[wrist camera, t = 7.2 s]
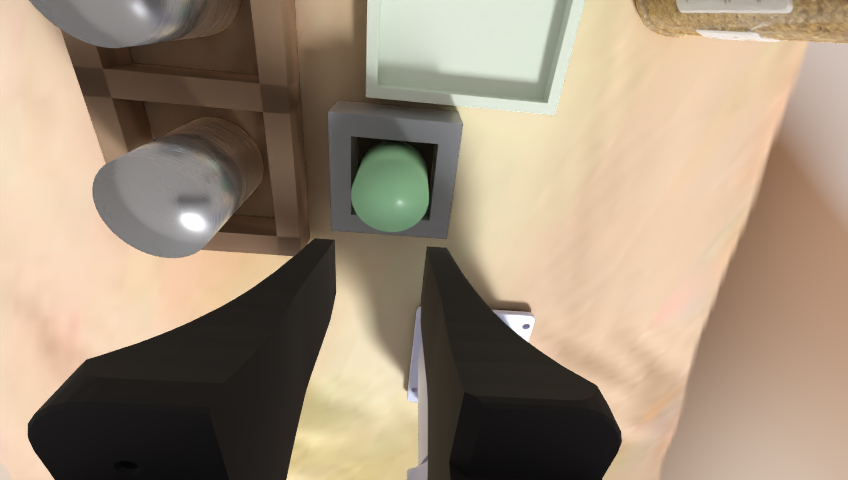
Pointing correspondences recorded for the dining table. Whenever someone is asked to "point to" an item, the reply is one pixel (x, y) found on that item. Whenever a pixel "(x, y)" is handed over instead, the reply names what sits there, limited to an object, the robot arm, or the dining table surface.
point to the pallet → (267, 92)
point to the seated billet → (179, 187)
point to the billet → (138, 19)
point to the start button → (391, 187)
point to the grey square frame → (403, 126)
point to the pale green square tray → (471, 52)
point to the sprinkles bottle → (749, 19)
